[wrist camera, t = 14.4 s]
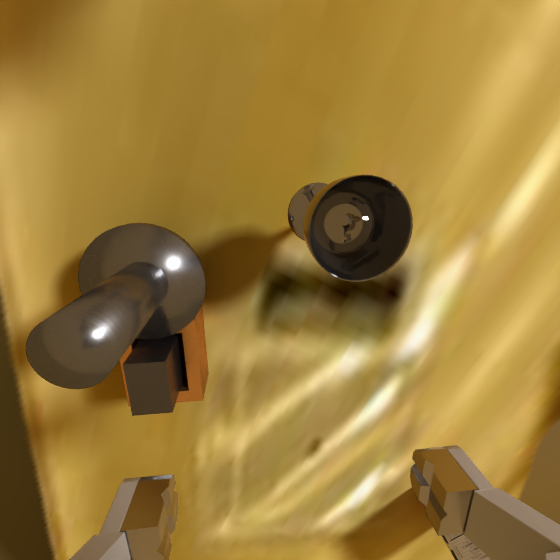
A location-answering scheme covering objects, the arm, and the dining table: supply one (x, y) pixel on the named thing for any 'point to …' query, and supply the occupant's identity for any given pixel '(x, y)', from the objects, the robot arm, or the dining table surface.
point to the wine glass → (353, 225)
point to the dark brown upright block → (155, 374)
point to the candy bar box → (463, 547)
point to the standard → (126, 310)
